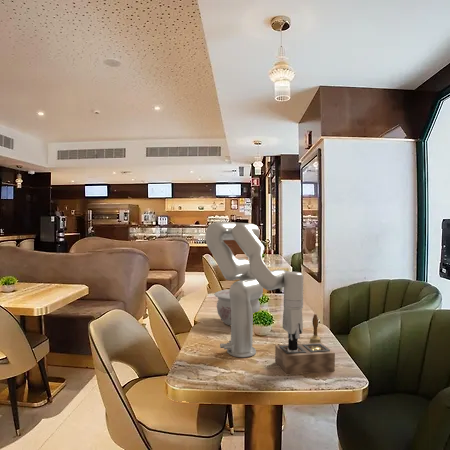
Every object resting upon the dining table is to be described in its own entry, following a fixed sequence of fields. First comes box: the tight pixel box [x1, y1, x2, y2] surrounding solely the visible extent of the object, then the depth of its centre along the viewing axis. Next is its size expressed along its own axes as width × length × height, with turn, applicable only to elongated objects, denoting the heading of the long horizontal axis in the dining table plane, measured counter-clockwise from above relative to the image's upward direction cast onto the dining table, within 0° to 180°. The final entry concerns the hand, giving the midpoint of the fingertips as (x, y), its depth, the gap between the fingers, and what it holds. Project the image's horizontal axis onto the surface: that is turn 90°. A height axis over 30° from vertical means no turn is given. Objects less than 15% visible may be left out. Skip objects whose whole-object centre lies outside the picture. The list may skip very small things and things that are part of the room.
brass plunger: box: [311, 346, 321, 351], centre depth 141 cm, size 4×4×7 cm
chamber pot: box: [214, 288, 263, 326], centre depth 200 cm, size 28×28×21 cm
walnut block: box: [274, 342, 336, 375], centre depth 140 cm, size 20×12×7 cm, turn 101°
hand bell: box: [309, 313, 322, 343], centre depth 159 cm, size 8×8×16 cm
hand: (292, 349), depth 139 cm, fingers closed
